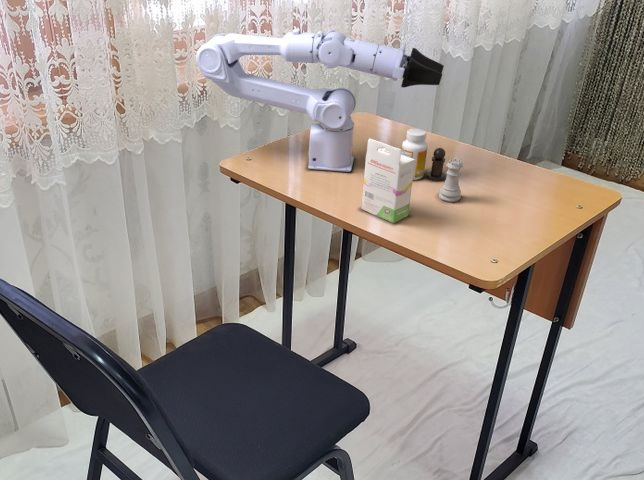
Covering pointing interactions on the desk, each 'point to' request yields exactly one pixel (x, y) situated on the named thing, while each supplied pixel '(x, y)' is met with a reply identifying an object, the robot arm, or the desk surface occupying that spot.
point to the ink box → (387, 181)
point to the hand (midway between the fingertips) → (441, 75)
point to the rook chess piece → (451, 182)
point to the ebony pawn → (437, 166)
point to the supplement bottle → (416, 150)
